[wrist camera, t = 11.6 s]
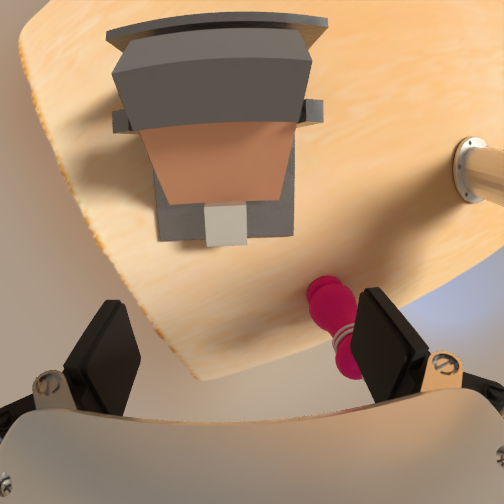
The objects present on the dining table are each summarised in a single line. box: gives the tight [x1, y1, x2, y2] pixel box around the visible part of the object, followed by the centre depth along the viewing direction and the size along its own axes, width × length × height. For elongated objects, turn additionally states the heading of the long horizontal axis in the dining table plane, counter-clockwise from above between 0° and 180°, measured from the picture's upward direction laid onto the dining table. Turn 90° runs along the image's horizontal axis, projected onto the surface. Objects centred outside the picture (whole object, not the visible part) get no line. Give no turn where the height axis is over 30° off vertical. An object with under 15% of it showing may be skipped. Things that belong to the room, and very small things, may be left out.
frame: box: [106, 12, 328, 241], centre depth 29 cm, size 19×25×16 cm
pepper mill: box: [307, 276, 365, 381], centre depth 36 cm, size 7×7×20 cm
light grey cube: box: [204, 201, 247, 247], centre depth 36 cm, size 5×5×5 cm
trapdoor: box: [112, 28, 312, 205], centre depth 25 cm, size 14×22×5 cm
